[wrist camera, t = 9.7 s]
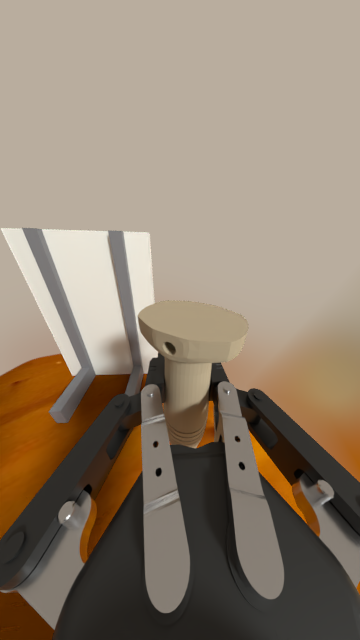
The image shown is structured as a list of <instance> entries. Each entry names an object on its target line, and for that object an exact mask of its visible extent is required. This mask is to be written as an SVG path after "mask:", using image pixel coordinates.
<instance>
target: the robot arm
mask: <svg viewBox="0 0 360 640" xmlns="http://www.w3.org/2000/svg"><path fill="white" fill-rule="evenodd" d="M209 401H213V402H214V430H215V437H214V442H211V443H209V444H206V445H204V446H202V447H199V448H196V449H195V448H191V447H188V446H184V445H180V444H177V445H170V443H169V437H168V432H167V426H166V420H165V416H164V412H163V407H162V403H165V357H164V356H163V355H161V354H160V353H159V352H158V357H157V358H152V359H151V361H150V363H149V368H148V373H147V379H146V384H145V387H144V388H143V389H142V391H141V392H140V393H138V394H136V395H133V396H130V397H129V396H128V395H126V394H119V395H117V396H115V397H114V398H112V400H111V401H110V402H109V403H108V405H107V406H106V407H105V408H104V410H103V411H102V412H101V413H100V415H99V416H98V417H97V419H96V420H95V421H94V422H93V424H92V425H91V426H90V427H89V429H88V430H87V431H86V432H85V434H84V435H83V436H82V437H81V439H80V440H79V441H78V443H77V444H76V445H75V446H74V448H73V449H72V450H71V451H70V453H69V454H68V455H67V456H66V458H65V459H64V460H63V461H62V463H61V464H60V465H59V466H58V468H57V469H56V470H55V472H54V473H53V474H52V475H51V477H50V478H49V479H48V480H47V482H46V483H45V484H44V485H43V487H42V488H41V489H40V490H39V492H38V493H37V494H36V496H35V497H34V498H33V499H32V501H31V502H30V503H29V504H28V506H27V507H26V508H25V509H24V511H23V512H22V513H21V514H20V516H19V517H18V518H17V520H16V521H15V522H14V523H13V525H12V526H11V527H10V528H9V530H8V531H7V532H6V533H5V535H4V536H3V537H2V539H1V540H0V591H1V592H3V593H19V594H20V595H21V596H22V597H23V598H24V599H25V600H26V601H27V602H28V603H29V604H30V605H31V606H32V607H33V608H34V609H35V610H36V611H37V612H38V613H39V615H40V616H41V617H42V618H43V619H44V620H45V621H46V622H47V623H48V624H49V625H50V626H51V627H52V628H53V629H54V633H53V637H52V640H360V595H359V593H358V591H357V589H356V587H357V585H358V583H359V581H360V482H359V481H358V480H356V479H355V478H354V477H353V476H352V475H351V474H350V473H349V472H348V471H347V470H346V469H345V468H344V467H343V466H342V465H340V464H339V463H338V462H337V461H336V460H335V459H334V458H333V457H332V456H331V455H330V454H329V453H328V452H326V450H324V449H323V448H322V447H321V446H320V445H319V444H318V443H317V442H316V441H315V440H314V439H313V438H312V437H311V436H310V435H308V434H307V433H306V432H305V431H304V430H303V429H302V428H301V427H300V426H299V425H298V424H297V423H295V421H293V420H292V419H291V418H290V417H289V416H288V415H287V414H286V413H285V412H284V411H283V410H282V409H281V408H280V407H279V406H277V405H276V404H275V403H274V402H273V401H272V400H271V399H270V398H269V397H268V396H267V395H266V394H264V393H263V392H262V391H260V390H258V389H250V390H249V391H248V392H245V391H242V390H238V389H236V388H235V387H234V385H232V384H231V383H230V382H229V380H228V379H227V376H226V374H225V372H224V369H223V367H222V365H221V363H212V366H211V377H210V388H209ZM140 424H141V435H142V465H143V471H142V472H141V474H140V476H139V477H138V479H137V480H136V482H135V484H134V485H133V487H132V488H131V490H130V492H129V493H128V495H127V496H126V498H125V500H124V501H123V503H122V505H121V506H120V508H119V509H118V511H117V513H116V514H115V516H114V517H113V519H112V521H111V522H110V524H109V525H108V527H107V529H106V530H105V532H104V533H103V535H102V537H101V538H100V540H99V542H98V543H97V545H96V546H95V548H94V550H93V551H92V553H91V554H90V556H89V558H88V555H87V546H88V540H89V536H90V533H91V530H92V528H93V525H94V523H95V520H96V515H97V505H96V502H95V501H94V500H95V498H96V496H97V494H98V493H99V491H100V489H101V487H102V485H103V483H104V482H105V480H106V478H107V476H108V474H109V472H110V470H111V469H112V467H113V465H114V463H115V461H116V459H117V457H118V456H119V454H120V452H121V450H122V448H123V446H124V444H125V443H126V441H127V439H128V437H129V435H130V433H131V432H132V430H133V428H134V427H136V426H138V425H140ZM248 429H249V430H248ZM249 431H250V432H251V433H252V435H253V436H254V437H255V439H256V440H257V441H258V443H259V444H260V445H261V447H262V448H263V449H264V450H265V452H266V453H267V454H268V456H269V457H270V458H271V460H272V461H273V462H274V464H275V465H276V466H277V467H278V469H279V470H280V471H281V473H282V474H283V475H284V477H285V478H286V479H287V481H288V482H289V483H290V484H291V486H292V492H293V496H294V498H295V501H296V504H297V506H298V508H299V509H300V510H301V511H302V513H303V514H304V516H305V519H306V521H307V524H308V525H307V524H306V523H305V522H304V521H303V519H302V518H301V517H300V516H299V515H298V514H297V513H296V512H295V511H294V510H293V509H292V507H291V506H290V505H289V504H288V503H287V502H286V501H285V500H284V499H283V498H282V497H281V495H280V494H279V493H278V492H277V491H276V490H275V489H274V488H273V487H272V486H271V485H270V483H269V482H268V481H267V480H266V479H265V478H264V477H263V476H262V475H261V474H260V473H259V471H258V469H257V464H256V460H255V456H254V452H253V447H252V443H251V439H250V435H249Z"/></svg>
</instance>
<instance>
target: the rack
mask: <svg viewBox="0 0 360 640" xmlns="http://www.w3.org/2000/svg"><path fill="white" fill-rule="evenodd" d="M1 231H2V233H3V234H4V237H5V239H6V241H7V243H8V245H9V247H10V249H11V251H12V253H13V255H14V257H15V259H16V261H17V263H18V265H19V267H20V269H21V272H22V274H23V276H24V278H25V279H26V282H27V284H28V286H29V288H30V290H31V292H32V294H33V296H34V298H35V300H36V302H37V304H38V306H39V308H40V310H41V313H42V314H43V317H44V319H45V321H46V323H47V325H48V327H49V329H50V331H51V333H52V335H53V337H54V339H55V341H56V343H57V345H58V347H59V349H60V351H61V353H62V355H63V358H64V360H65V362H66V364H67V366H68V368H69V370H70V372H71V374H72V376H75V377H74V379H73V380H72V381H71V383H70V384H69V385H68V387H67V388H66V389H65V391H64V392H63V393H62V395H61V396H60V397H59V399H58V400H57V401H56V403H55V404H54V405H53V407H52V408H51V410H50V411H49V413H50V414H51V416H52V417H53V418H54V420H55V421H56V422H57V423H68V421H69V420H70V418H71V416H72V415H73V413H74V411H75V410H76V408H77V406H78V405H79V403H80V401H81V399H82V398H83V396H84V394H85V393H86V391H87V389H88V388H89V386H90V384H91V383H92V381H93V379H94V378H95V376H96V375H113V374H131V375H130V379H129V382H128V385H127V388H126V391H125V394H126V395H128V396H129V397H130V396H133V395H136V394H138V393H140V388H141V383H142V379H143V374H145V373H148V368H149V363H150V361H151V359H152V358H157V357H158V351H156V350H155V349H154V348H153V347H152V346H151V345H150V344H149V343H148V342H147V340H146V339H145V338H144V337H143V335H142V334H141V332H140V329H139V322H138V314H139V312H140V311H141V310H142V309H144V308H145V307H147V306H149V305H152V304H154V303H155V301H154V287H153V272H152V258H151V245H150V233H147V232H122V231H80V230H47V229H46V230H44V229H34V228H22V229H13V228H1Z"/></svg>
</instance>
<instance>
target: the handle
mask: <svg viewBox="0 0 360 640" xmlns="http://www.w3.org/2000/svg"><path fill="white" fill-rule="evenodd" d="M138 322H139V329H140V332H141V334H142V335H143V337H144V338H145V339H146V340H147V342H148V343H149V344H150V345H151V346H152V347H153V348H154V349H155V350H156V351H158V352H159V353H160V354H161V355H163V356H164V357H165V403H164V416H165V420H166V426H167V432H168V437H169V441H170V443H171V444H172V445H177V444H180V445H184V446H188V447H191V448H195V449H196V447H197V445H198V444H199V442H200V441H201V438H202V436H203V433H204V430H205V427H206V422H207V416H208V404H209V388H210V377H211V366H212V363H221V362H227V361H230V360H232V359H233V358H235V357H236V356H237V355H238V354H239V353H240V352H241V350H242V347H243V345H244V342H245V339H246V335H247V331H248V323H247V320H246V319H245V318H244V317H243V316H242V315H240V314H237V313H235V312H232V311H229V310H227V309H224V308H221V307H218V306H214V305H209V304H204V303H198V302H191V301H162V302H158V303H154V304H152V305H149V306H147V307H145V308H144V309H142V310H141V311H140V312H139V314H138Z"/></svg>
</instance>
